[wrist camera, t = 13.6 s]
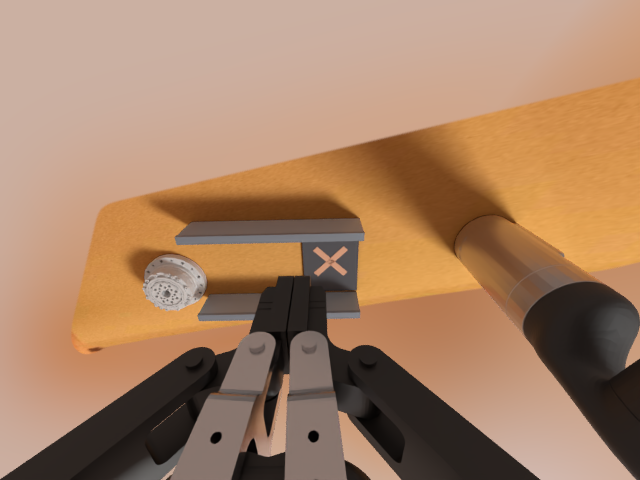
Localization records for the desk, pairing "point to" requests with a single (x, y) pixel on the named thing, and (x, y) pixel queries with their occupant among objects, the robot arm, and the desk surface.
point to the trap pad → (331, 264)
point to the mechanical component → (174, 282)
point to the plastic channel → (271, 232)
